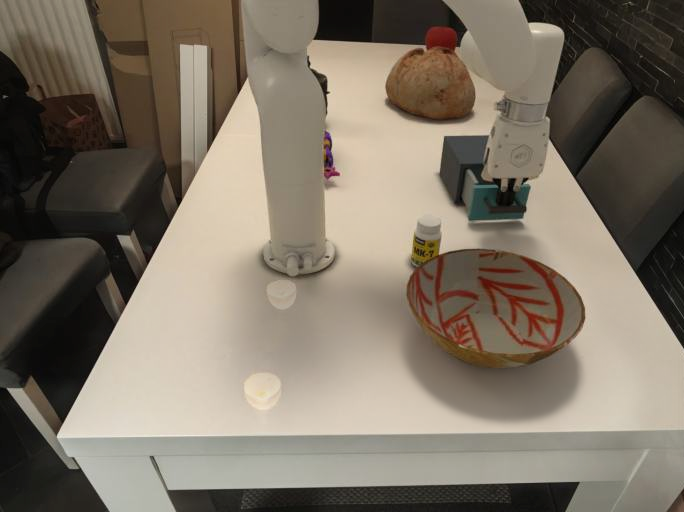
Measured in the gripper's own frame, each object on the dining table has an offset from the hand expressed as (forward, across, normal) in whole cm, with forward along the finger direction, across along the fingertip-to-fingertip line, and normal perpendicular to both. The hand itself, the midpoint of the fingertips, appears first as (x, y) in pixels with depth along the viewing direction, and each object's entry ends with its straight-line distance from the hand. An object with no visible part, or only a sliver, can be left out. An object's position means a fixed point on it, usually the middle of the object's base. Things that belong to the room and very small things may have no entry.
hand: (503, 207), depth 104 cm
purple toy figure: (+5, -36, +32) cm, 48 cm away
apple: (+5, +15, +113) cm, 114 cm away
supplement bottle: (+5, -17, -10) cm, 21 cm away
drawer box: (+5, 0, +18) cm, 18 cm away
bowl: (+5, -12, -31) cm, 34 cm away
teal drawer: (+4, 0, +6) cm, 7 cm away
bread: (+5, +2, +69) cm, 69 cm away
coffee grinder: (+5, -35, +55) cm, 65 cm away
